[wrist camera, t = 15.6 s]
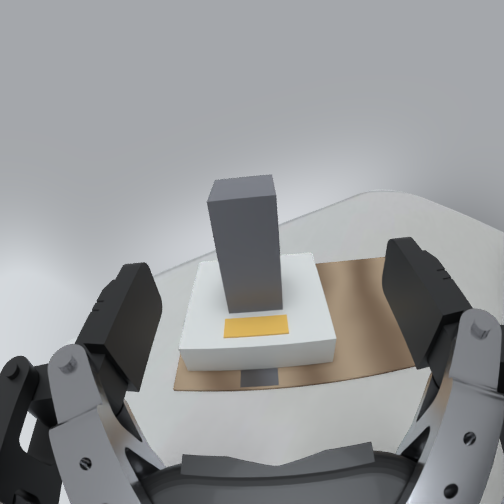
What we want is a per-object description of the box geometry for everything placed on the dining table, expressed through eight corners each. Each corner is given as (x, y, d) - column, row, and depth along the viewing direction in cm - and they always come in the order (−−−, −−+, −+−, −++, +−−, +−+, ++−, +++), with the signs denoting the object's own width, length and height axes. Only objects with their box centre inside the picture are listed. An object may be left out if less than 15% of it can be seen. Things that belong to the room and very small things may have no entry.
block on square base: (311, 274, 32) (310, 159, 25) (332, 361, 22) (349, 215, 15) (204, 283, 33) (180, 172, 26) (188, 370, 23) (135, 235, 16)
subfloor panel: (392, 260, 34) (392, 255, 34) (448, 359, 20) (451, 354, 20) (199, 277, 35) (198, 273, 35) (175, 393, 22) (173, 389, 21)
